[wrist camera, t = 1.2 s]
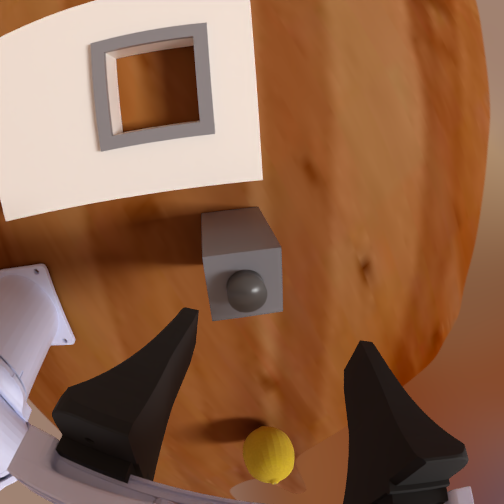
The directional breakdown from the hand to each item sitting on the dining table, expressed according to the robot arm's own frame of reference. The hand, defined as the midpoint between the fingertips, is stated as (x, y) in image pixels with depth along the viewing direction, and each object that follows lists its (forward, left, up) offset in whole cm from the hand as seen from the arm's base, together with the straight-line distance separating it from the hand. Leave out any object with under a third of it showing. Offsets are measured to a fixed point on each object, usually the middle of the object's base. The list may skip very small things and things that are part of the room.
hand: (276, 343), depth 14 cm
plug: (-1, +1, -11) cm, 11 cm away
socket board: (-8, +12, -11) cm, 18 cm away
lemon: (0, -23, -11) cm, 26 cm away
